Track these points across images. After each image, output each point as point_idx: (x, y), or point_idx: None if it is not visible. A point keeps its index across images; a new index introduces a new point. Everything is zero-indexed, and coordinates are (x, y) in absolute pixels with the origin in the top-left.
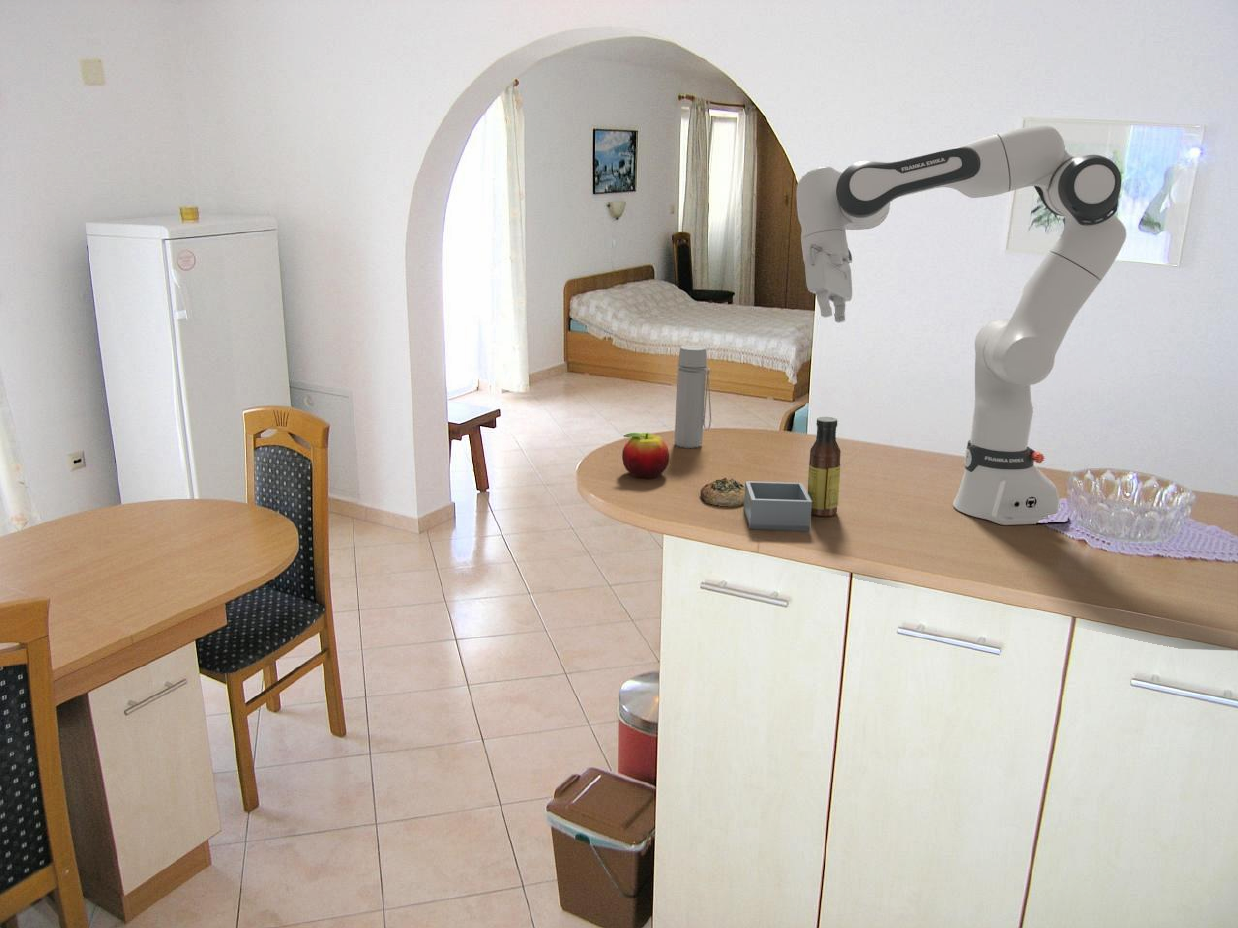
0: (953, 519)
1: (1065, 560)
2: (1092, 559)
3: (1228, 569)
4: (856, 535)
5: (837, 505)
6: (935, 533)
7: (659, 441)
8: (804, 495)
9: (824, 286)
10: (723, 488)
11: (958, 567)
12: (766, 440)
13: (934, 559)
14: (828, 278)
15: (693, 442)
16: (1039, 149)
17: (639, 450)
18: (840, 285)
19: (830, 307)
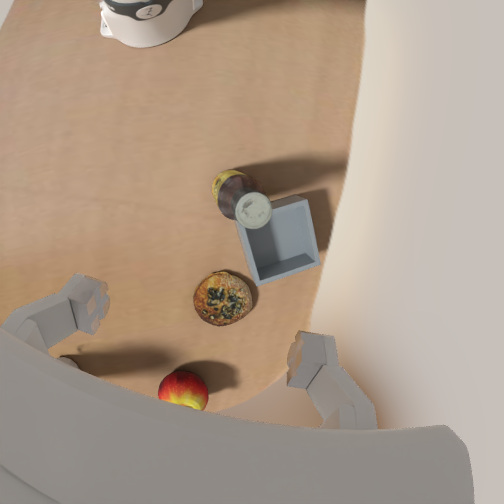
0: (198, 45)
1: None
2: None
3: None
4: (291, 144)
5: (235, 170)
6: (254, 64)
7: (185, 397)
8: (285, 210)
9: (450, 430)
10: (239, 305)
11: (338, 59)
12: (3, 297)
13: (328, 75)
14: (408, 487)
15: (73, 366)
16: None
17: (206, 402)
18: (84, 440)
19: (316, 360)
